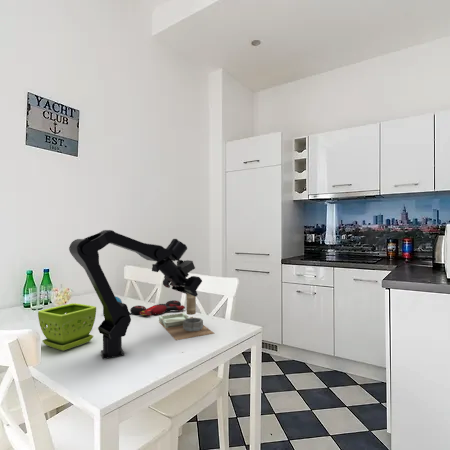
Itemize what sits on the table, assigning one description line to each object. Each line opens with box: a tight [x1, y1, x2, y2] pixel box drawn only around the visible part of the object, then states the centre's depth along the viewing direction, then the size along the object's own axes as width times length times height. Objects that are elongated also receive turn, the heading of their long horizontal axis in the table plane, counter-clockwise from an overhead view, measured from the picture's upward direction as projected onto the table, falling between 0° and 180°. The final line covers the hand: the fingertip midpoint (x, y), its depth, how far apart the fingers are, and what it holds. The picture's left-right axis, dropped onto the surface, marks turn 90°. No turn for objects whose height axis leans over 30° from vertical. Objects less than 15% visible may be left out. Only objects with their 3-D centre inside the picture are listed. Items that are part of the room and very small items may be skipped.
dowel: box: [185, 293, 197, 316], centre depth 124 cm, size 4×4×13 cm
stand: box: [158, 312, 215, 341], centre depth 124 cm, size 26×15×4 cm, turn 26°
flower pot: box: [37, 302, 97, 351], centre depth 109 cm, size 14×14×13 cm
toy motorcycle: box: [129, 300, 186, 316], centre depth 149 cm, size 25×5×16 cm
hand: (193, 294), depth 124 cm, fingers closed on dowel, 4 cm apart
